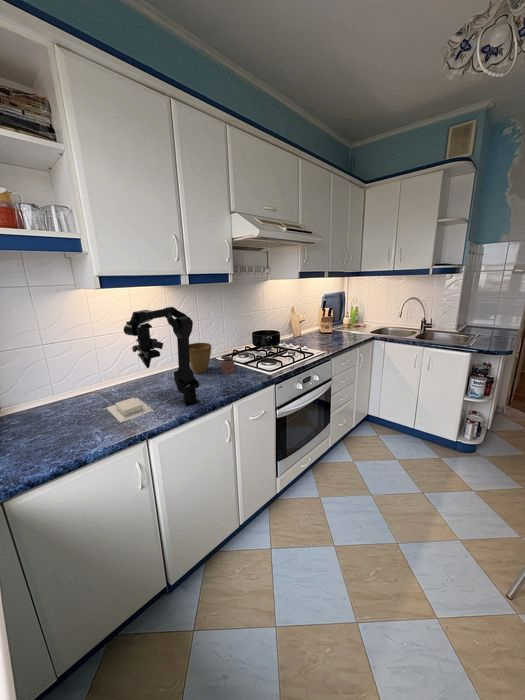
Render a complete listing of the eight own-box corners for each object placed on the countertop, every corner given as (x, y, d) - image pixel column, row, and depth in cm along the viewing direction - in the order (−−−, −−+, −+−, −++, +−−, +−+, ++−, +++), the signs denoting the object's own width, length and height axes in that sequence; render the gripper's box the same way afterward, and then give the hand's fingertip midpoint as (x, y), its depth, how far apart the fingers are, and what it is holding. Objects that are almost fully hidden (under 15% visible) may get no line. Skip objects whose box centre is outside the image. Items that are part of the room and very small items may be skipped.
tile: (134, 402, 133) (143, 409, 126) (116, 408, 128) (124, 416, 121) (133, 397, 133) (142, 404, 126) (115, 403, 127) (123, 410, 120)
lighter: (235, 371, 172) (234, 355, 169) (234, 373, 169) (233, 357, 166) (222, 371, 173) (221, 355, 170) (220, 373, 170) (219, 357, 167)
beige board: (154, 411, 126) (153, 410, 126) (120, 423, 117) (120, 422, 117) (137, 398, 138) (137, 397, 138) (106, 408, 129) (105, 407, 129)
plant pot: (197, 377, 164) (195, 350, 159) (183, 371, 174) (180, 346, 169) (218, 370, 174) (216, 345, 170) (203, 365, 184) (201, 341, 180)
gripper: (168, 337, 137) (172, 368, 141) (151, 331, 150) (155, 360, 154) (145, 341, 129) (149, 374, 134) (129, 335, 142) (134, 365, 147)
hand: (148, 367), depth 142 cm, fingers closed
